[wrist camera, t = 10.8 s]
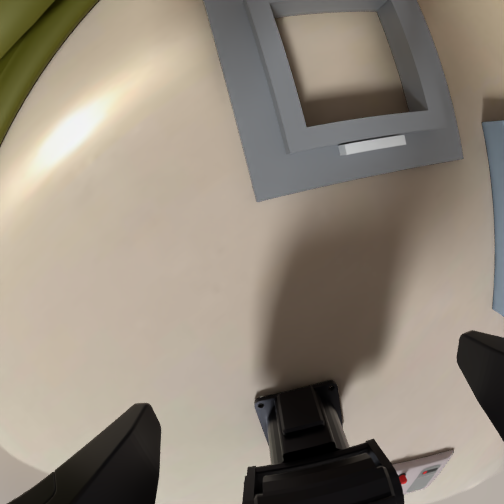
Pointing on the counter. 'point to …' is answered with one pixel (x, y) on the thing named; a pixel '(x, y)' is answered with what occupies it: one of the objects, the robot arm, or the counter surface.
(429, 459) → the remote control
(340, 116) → the counter surface
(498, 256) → the tray
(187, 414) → the counter surface
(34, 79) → the spaceship
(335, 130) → the grey square frame
